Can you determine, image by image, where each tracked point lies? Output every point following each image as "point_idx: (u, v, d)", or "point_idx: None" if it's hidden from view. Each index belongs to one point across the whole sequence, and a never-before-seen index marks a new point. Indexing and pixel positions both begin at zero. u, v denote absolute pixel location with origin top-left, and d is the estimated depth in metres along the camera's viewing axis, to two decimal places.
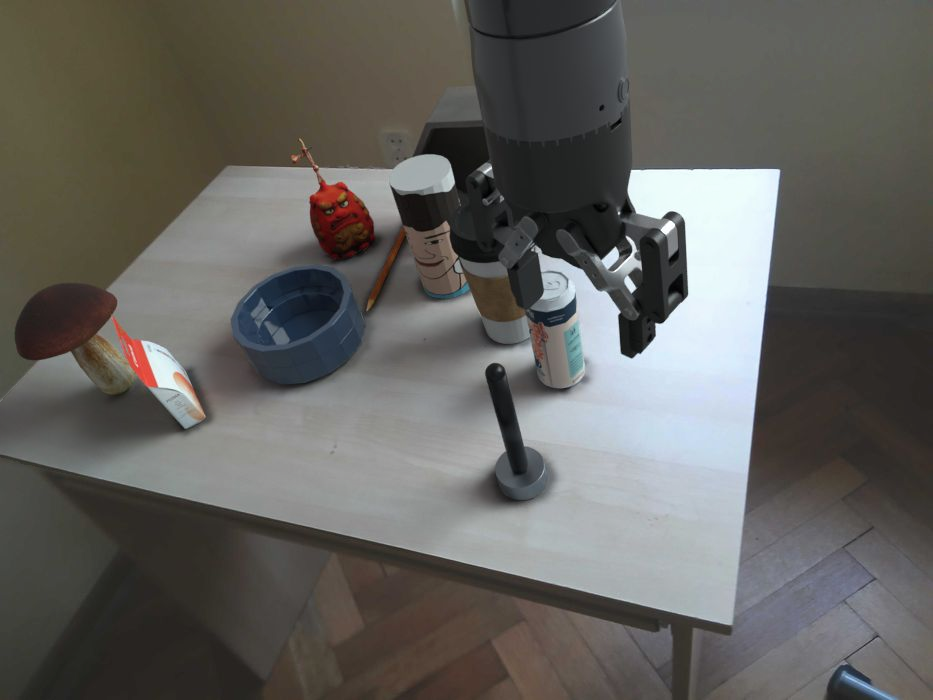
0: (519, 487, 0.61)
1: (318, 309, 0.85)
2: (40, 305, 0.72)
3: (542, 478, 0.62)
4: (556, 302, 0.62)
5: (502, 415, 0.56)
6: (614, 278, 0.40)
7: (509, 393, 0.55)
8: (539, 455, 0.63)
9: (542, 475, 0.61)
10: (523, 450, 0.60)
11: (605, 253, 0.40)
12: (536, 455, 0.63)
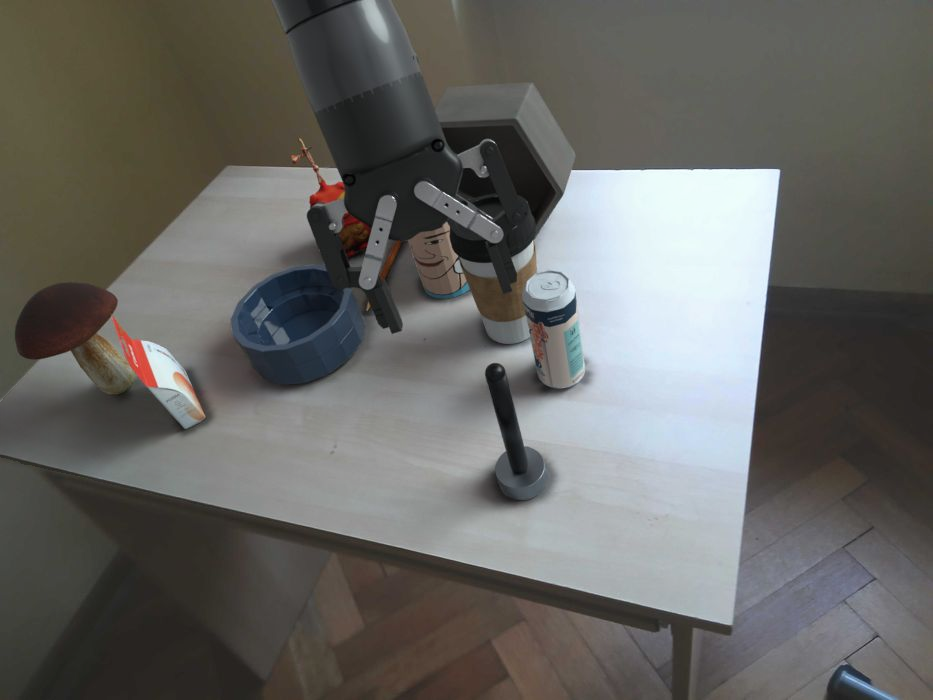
0: (519, 487, 0.61)
1: (318, 309, 0.85)
2: (41, 304, 0.72)
3: (542, 478, 0.62)
4: (556, 302, 0.62)
5: (502, 415, 0.56)
6: (472, 209, 0.48)
7: (509, 393, 0.55)
8: (539, 455, 0.63)
9: (542, 475, 0.61)
10: (523, 450, 0.60)
11: (455, 195, 0.48)
12: (536, 455, 0.63)
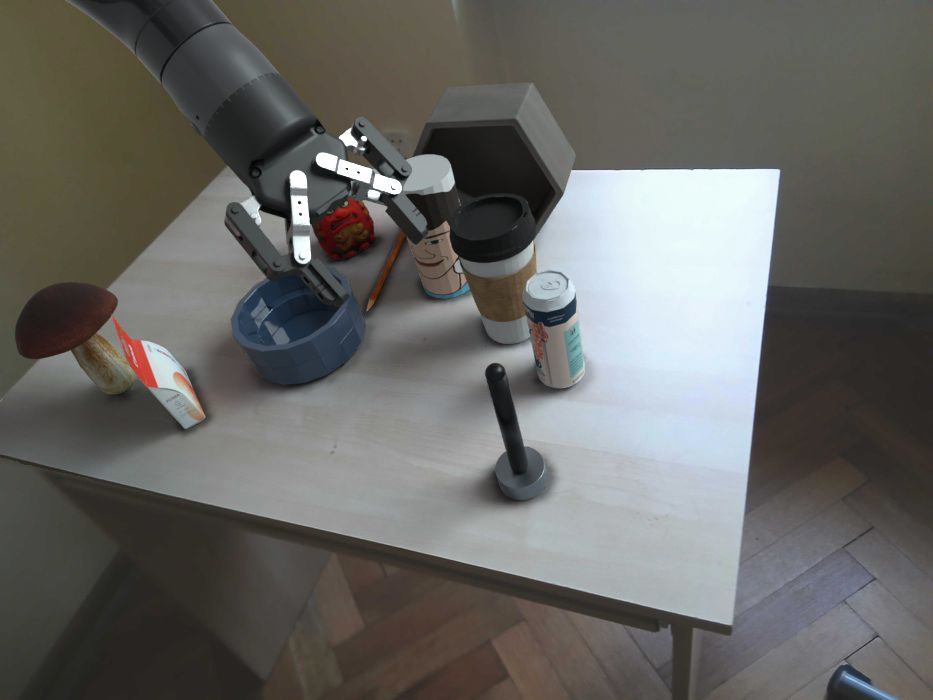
0: (519, 487, 0.61)
1: (318, 309, 0.85)
2: (41, 304, 0.72)
3: (542, 478, 0.62)
4: (556, 302, 0.62)
5: (502, 415, 0.56)
6: None
7: (509, 393, 0.55)
8: (539, 455, 0.63)
9: (542, 475, 0.61)
10: (523, 450, 0.60)
11: None
12: (536, 455, 0.63)
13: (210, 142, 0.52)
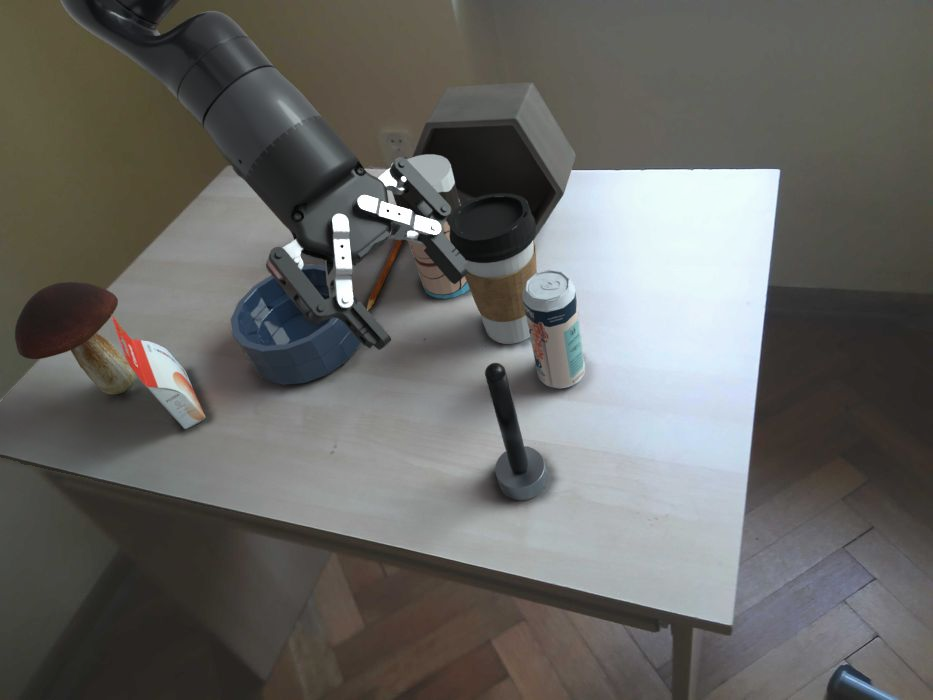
0: (519, 487, 0.61)
1: None
2: (41, 304, 0.72)
3: (542, 478, 0.62)
4: (556, 302, 0.62)
5: (502, 415, 0.56)
6: None
7: (509, 393, 0.55)
8: (539, 455, 0.63)
9: (542, 475, 0.61)
10: (523, 450, 0.60)
11: None
12: (536, 455, 0.63)
13: (252, 185, 0.52)
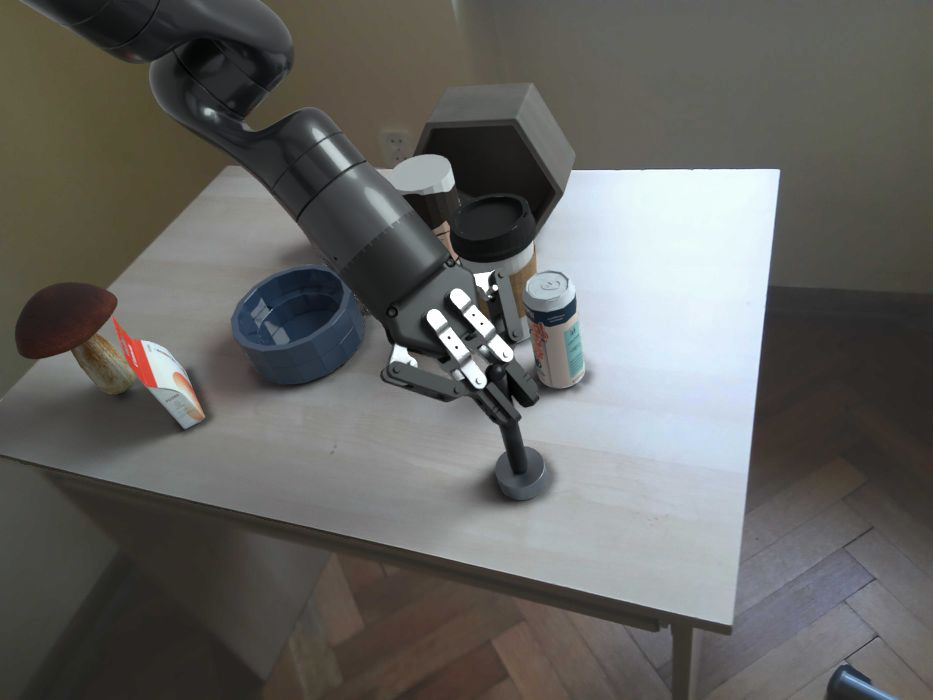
0: (519, 487, 0.61)
1: (318, 309, 0.85)
2: (41, 304, 0.72)
3: (542, 478, 0.62)
4: (556, 302, 0.62)
5: None
6: None
7: (509, 393, 0.55)
8: (539, 455, 0.63)
9: (542, 475, 0.61)
10: (523, 450, 0.60)
11: None
12: (536, 455, 0.63)
13: (345, 280, 0.52)
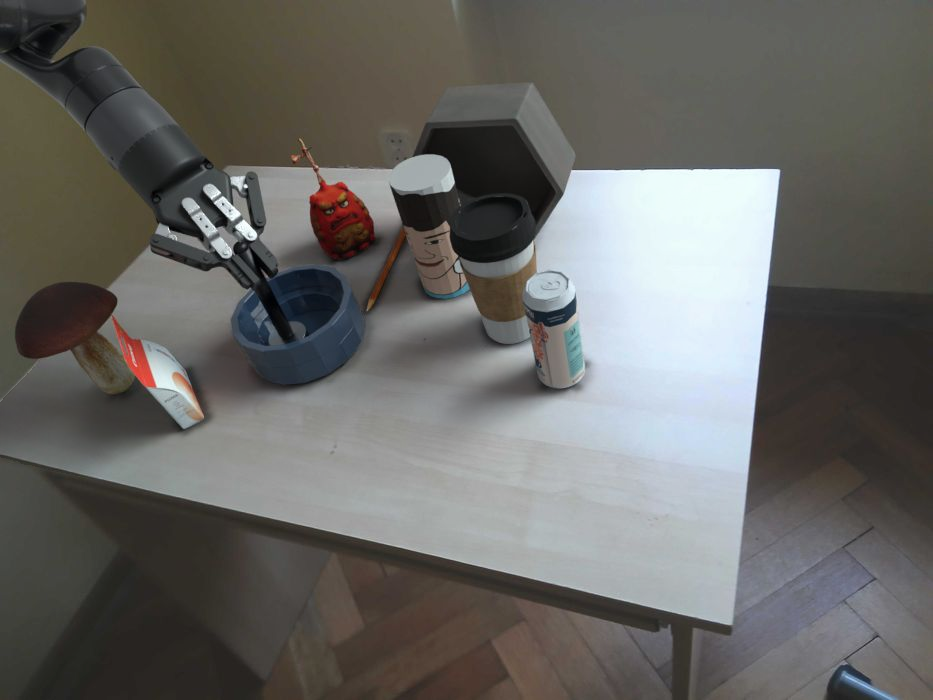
0: None
1: (318, 309, 0.85)
2: (41, 303, 0.72)
3: None
4: (556, 302, 0.62)
5: None
6: None
7: (255, 266, 0.72)
8: (303, 326, 0.80)
9: None
10: (283, 318, 0.78)
11: (231, 193, 0.72)
12: (301, 326, 0.80)
13: (123, 176, 0.69)
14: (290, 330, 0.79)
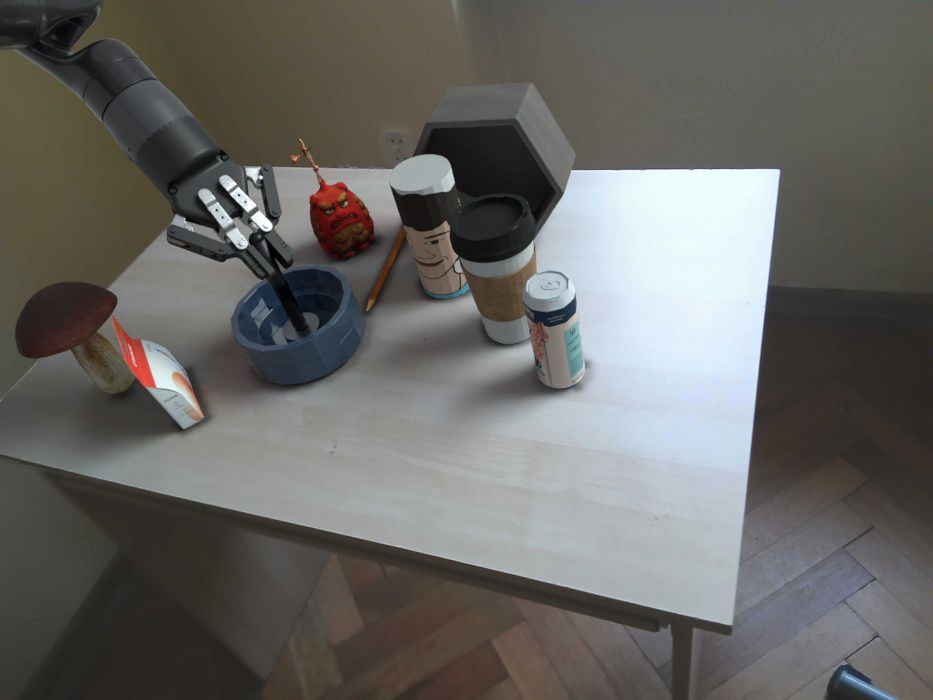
0: (296, 339, 0.79)
1: (318, 309, 0.85)
2: (41, 303, 0.72)
3: None
4: (556, 302, 0.62)
5: None
6: None
7: (270, 257, 0.73)
8: (317, 317, 0.81)
9: None
10: (297, 309, 0.78)
11: (247, 184, 0.72)
12: (314, 317, 0.81)
13: (140, 167, 0.70)
14: (304, 321, 0.80)
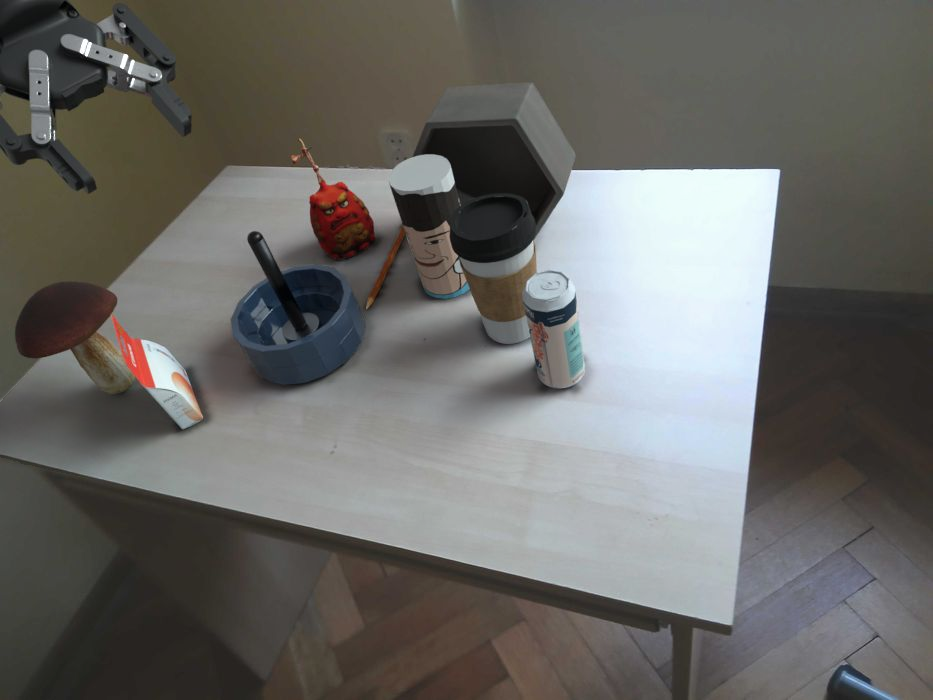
0: (296, 339, 0.79)
1: (318, 309, 0.85)
2: (41, 303, 0.72)
3: None
4: (556, 302, 0.62)
5: (268, 275, 0.74)
6: None
7: (269, 256, 0.73)
8: (317, 317, 0.81)
9: None
10: (296, 309, 0.78)
11: None
12: (314, 317, 0.81)
13: None
14: (304, 321, 0.80)
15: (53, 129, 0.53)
